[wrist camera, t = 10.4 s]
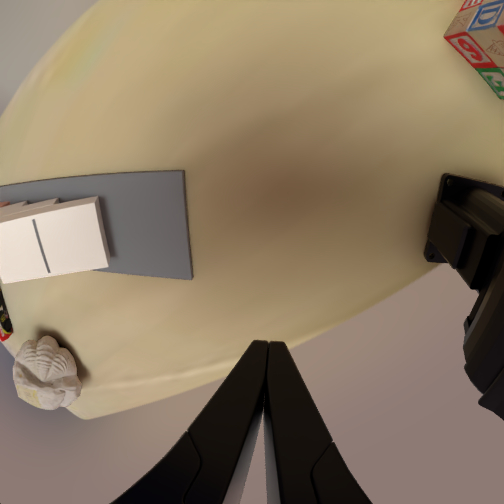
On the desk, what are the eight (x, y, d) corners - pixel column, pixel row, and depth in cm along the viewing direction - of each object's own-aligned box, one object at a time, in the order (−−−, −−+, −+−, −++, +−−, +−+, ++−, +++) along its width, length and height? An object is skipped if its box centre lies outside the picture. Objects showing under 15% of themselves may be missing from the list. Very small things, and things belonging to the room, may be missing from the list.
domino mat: (183, 170, 18) (181, 171, 17) (193, 277, 22) (191, 280, 21) (-10, 188, 20) (-13, 189, 19) (9, 257, 23) (7, 259, 23)
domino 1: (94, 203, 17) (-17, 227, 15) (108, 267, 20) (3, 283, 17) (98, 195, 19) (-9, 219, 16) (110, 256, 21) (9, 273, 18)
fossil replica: (79, 336, 28) (26, 310, 29) (36, 383, 20) (-14, 346, 21) (100, 398, 33) (50, 372, 34) (72, 441, 25) (21, 407, 26)
